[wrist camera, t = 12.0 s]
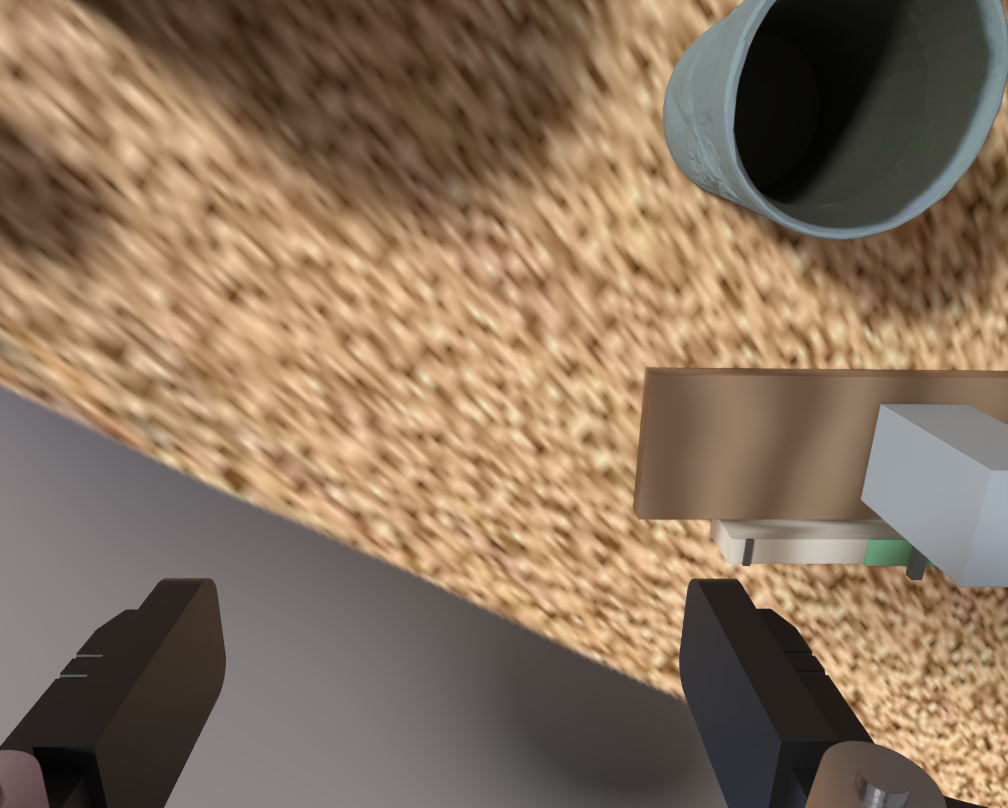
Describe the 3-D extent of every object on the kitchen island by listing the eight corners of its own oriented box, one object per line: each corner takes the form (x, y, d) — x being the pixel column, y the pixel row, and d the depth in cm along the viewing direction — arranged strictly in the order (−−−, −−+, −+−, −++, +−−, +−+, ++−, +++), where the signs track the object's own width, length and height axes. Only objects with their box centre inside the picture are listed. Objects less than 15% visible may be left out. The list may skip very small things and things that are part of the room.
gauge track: (630, 534, 43) (681, 657, 33) (645, 367, 40) (707, 443, 29) (1063, 534, 44) (1252, 654, 34) (1116, 371, 41) (1346, 447, 30)
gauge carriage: (849, 553, 42) (942, 652, 34) (880, 404, 39) (991, 470, 31) (978, 553, 43) (1102, 651, 34) (1019, 405, 39) (1168, 471, 31)
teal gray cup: (796, -41, 33) (959, -146, 22) (872, 150, 36) (1050, 144, 25) (612, 79, 35) (675, 38, 24) (699, 253, 38) (793, 290, 26)
